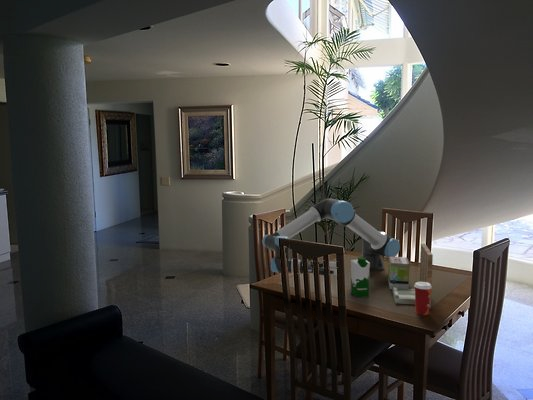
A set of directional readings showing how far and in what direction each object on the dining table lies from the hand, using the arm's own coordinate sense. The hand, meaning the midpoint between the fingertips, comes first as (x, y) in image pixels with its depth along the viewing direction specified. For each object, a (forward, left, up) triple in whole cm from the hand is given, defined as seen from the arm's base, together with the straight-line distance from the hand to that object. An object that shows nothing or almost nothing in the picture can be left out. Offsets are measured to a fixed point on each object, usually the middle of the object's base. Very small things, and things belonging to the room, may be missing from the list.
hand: (340, 268), depth 236 cm
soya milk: (0, +10, -14) cm, 17 cm away
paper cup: (+21, +38, -14) cm, 45 cm away
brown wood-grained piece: (+2, +34, -14) cm, 37 cm away
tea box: (-18, +31, -14) cm, 38 cm away
